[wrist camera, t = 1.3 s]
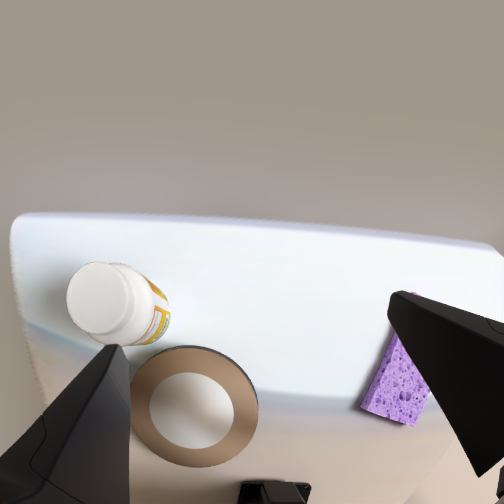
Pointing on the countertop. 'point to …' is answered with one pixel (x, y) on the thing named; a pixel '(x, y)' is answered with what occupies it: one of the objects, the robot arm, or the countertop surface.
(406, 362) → the purple sponge
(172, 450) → the turntable platter
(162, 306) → the supplement bottle
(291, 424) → the countertop surface
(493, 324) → the robot arm
